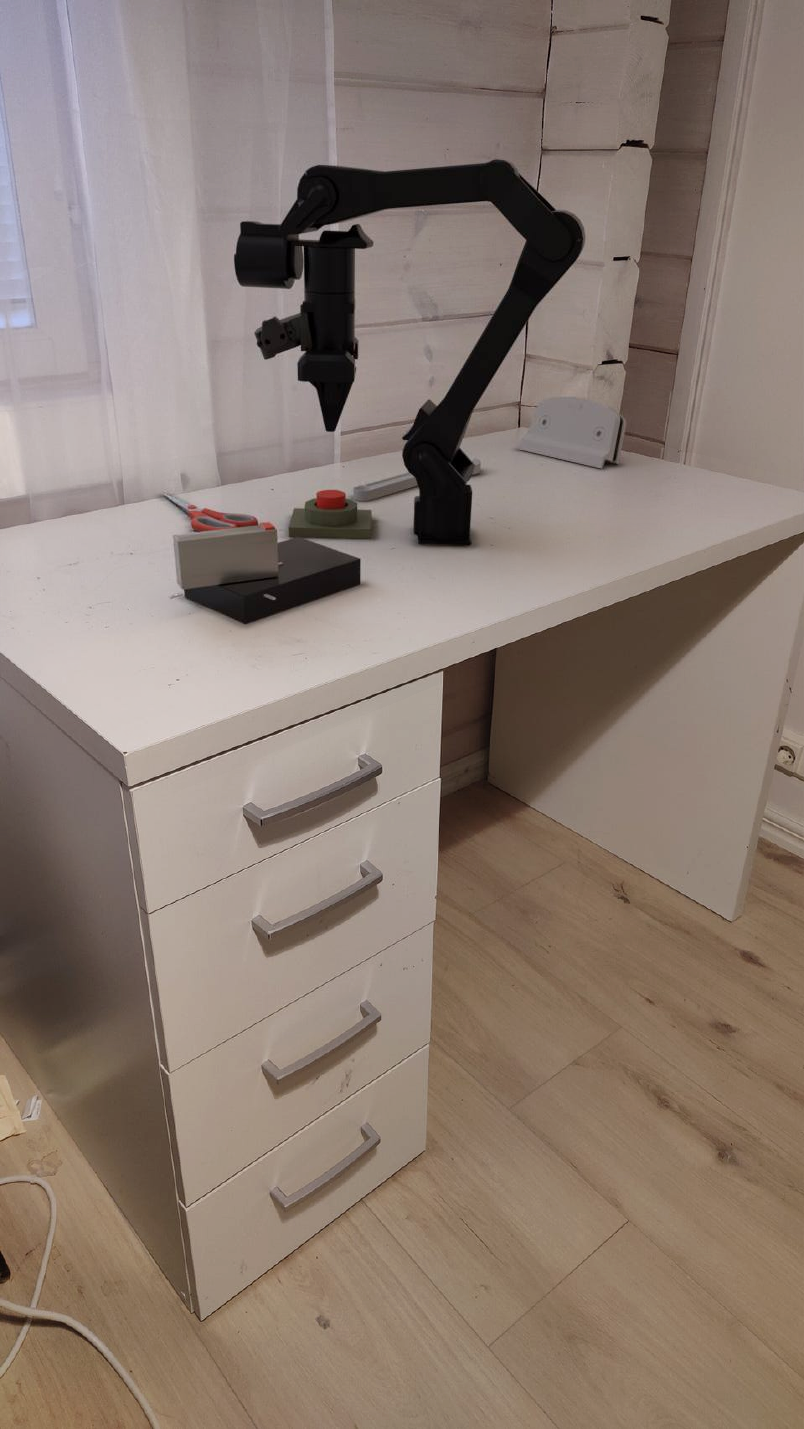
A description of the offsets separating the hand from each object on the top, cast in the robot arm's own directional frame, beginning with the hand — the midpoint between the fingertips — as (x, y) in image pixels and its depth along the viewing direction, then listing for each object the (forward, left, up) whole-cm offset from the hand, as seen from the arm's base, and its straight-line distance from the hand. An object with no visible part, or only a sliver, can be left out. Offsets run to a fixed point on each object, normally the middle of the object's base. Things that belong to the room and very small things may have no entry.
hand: (330, 431), depth 121 cm
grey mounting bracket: (-37, -40, -12) cm, 56 cm away
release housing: (0, 0, -12) cm, 12 cm away
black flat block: (+6, +24, -12) cm, 28 cm away
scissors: (+18, -3, -12) cm, 22 cm away
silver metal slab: (+9, +27, -9) cm, 30 cm away
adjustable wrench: (-11, -22, -12) cm, 27 cm away
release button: (0, 0, -9) cm, 9 cm away
